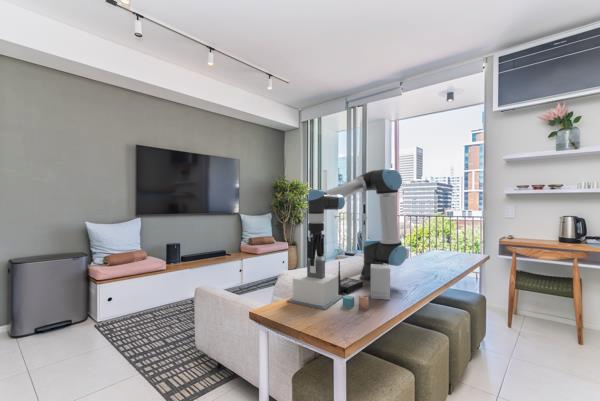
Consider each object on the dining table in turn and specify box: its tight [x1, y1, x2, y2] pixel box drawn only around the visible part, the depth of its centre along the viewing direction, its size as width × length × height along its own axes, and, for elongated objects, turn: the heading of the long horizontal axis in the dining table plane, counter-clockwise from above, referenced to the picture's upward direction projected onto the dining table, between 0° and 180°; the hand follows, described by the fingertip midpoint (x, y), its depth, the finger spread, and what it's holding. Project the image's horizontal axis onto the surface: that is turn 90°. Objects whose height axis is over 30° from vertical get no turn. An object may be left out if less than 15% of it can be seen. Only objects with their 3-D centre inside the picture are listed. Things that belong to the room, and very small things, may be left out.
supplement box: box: [370, 264, 391, 301], centre depth 144 cm, size 9×9×15 cm
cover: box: [292, 258, 338, 306], centre depth 139 cm, size 16×16×18 cm
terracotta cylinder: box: [358, 295, 369, 312], centre depth 127 cm, size 4×4×5 cm
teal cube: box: [342, 294, 355, 309], centre depth 131 cm, size 4×4×4 cm
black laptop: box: [338, 261, 364, 295], centre depth 155 cm, size 20×14×17 cm
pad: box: [286, 294, 345, 311], centre depth 139 cm, size 20×20×1 cm
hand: (315, 271), depth 139 cm, fingers open, 5 cm apart
